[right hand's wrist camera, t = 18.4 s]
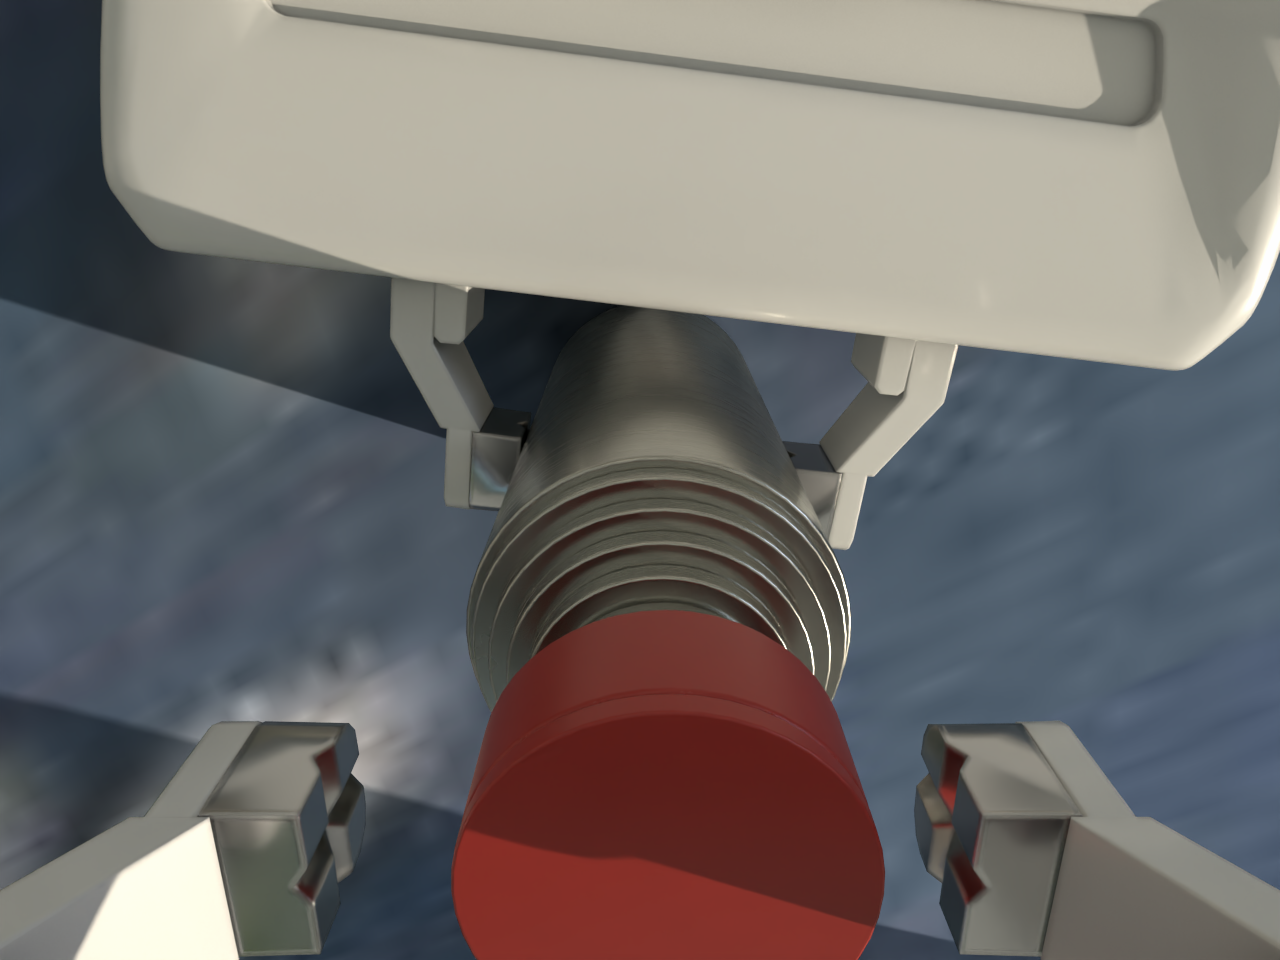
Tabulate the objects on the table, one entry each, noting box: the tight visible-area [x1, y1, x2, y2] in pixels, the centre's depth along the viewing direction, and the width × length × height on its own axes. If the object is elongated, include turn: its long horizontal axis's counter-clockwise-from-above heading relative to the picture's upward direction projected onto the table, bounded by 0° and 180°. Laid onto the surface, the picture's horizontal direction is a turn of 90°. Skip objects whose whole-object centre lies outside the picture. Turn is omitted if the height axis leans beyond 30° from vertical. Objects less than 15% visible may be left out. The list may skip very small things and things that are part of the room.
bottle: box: [466, 305, 851, 713], centre depth 17 cm, size 6×6×16 cm
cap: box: [451, 610, 885, 960], centre depth 9 cm, size 4×4×2 cm
